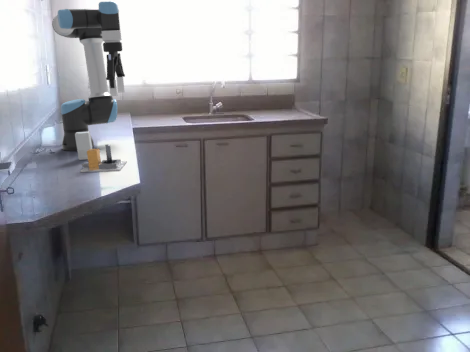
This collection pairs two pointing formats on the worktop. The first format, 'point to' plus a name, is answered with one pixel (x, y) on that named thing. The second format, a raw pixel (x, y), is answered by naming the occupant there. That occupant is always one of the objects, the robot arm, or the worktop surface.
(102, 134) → the worktop surface
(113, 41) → the robot arm
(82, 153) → the skincare box
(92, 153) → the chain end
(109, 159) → the post
